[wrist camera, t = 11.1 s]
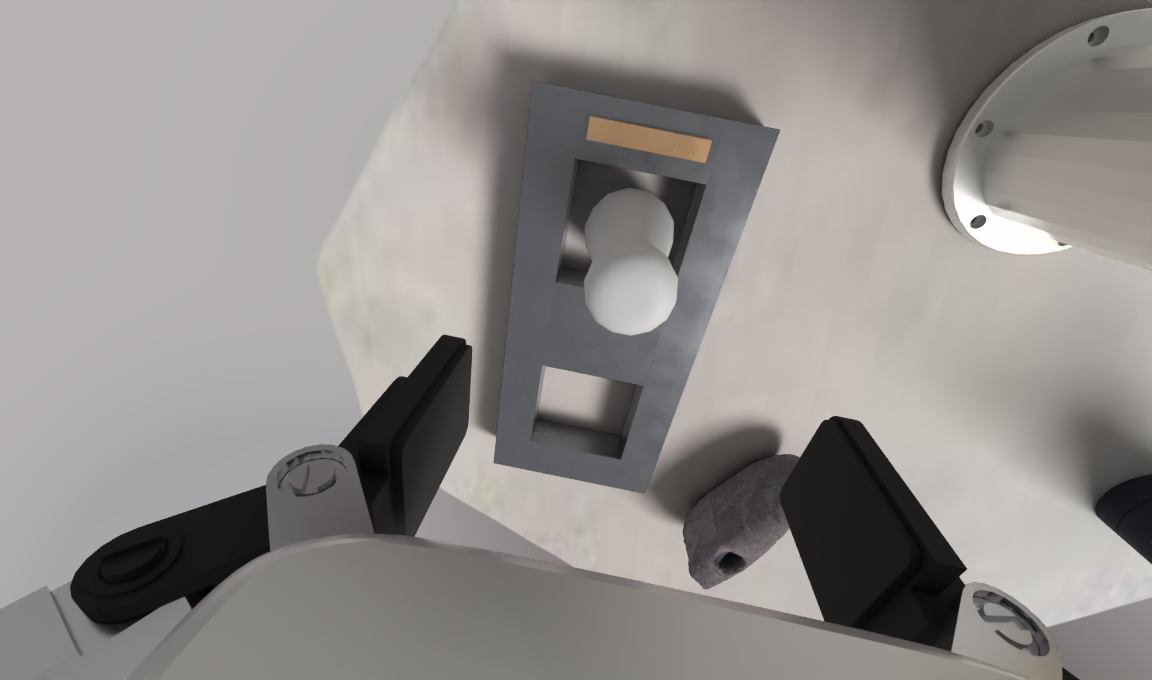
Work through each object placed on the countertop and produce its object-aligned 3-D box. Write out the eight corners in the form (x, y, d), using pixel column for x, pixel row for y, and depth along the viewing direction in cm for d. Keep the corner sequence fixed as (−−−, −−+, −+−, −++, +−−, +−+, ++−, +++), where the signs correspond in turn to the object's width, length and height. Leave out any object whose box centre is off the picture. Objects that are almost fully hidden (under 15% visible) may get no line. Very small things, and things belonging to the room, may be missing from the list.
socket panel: (764, 127, 26) (781, 130, 23) (643, 468, 41) (645, 496, 38) (541, 83, 26) (531, 80, 23) (502, 440, 41) (492, 465, 38)
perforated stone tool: (774, 426, 37) (803, 489, 31) (817, 455, 38) (853, 521, 32) (663, 513, 44) (669, 579, 38) (702, 535, 45) (713, 603, 39)
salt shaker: (585, 184, 29) (559, 235, 17) (671, 179, 28) (703, 228, 17) (590, 266, 31) (570, 357, 20) (668, 263, 31) (694, 356, 19)
